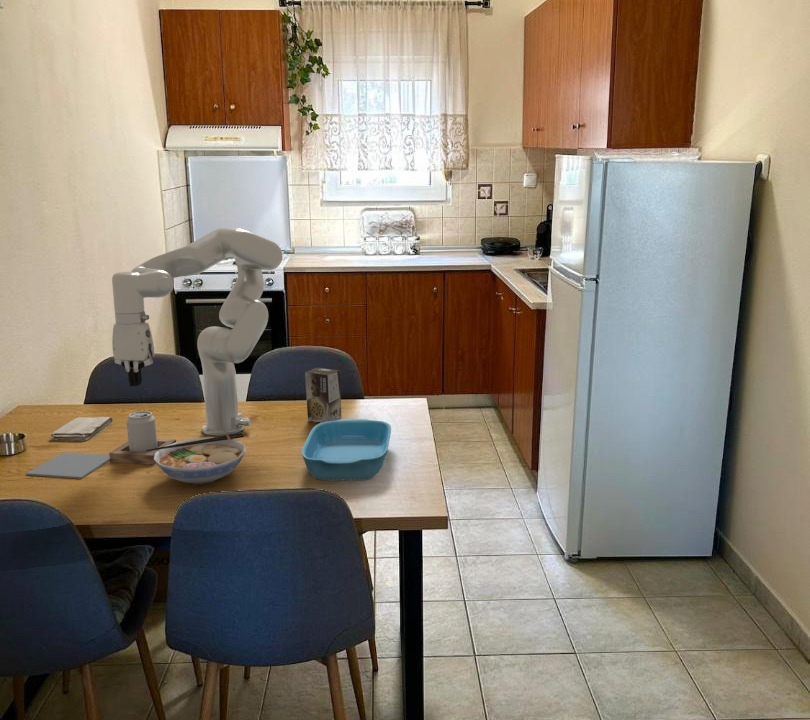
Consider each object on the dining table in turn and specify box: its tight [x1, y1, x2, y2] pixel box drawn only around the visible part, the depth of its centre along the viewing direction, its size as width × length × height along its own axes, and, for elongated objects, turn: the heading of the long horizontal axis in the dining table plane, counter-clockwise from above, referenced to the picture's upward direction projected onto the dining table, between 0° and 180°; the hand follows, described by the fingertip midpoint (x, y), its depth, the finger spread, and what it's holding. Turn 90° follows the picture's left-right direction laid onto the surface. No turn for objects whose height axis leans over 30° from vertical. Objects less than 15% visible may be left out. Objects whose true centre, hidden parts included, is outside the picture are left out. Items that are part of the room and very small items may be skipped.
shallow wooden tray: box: [108, 438, 177, 465], centre depth 222 cm, size 13×13×2 cm
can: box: [126, 410, 158, 453], centre depth 221 cm, size 8×8×12 cm
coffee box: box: [304, 367, 343, 424], centre depth 248 cm, size 9×6×16 cm
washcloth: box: [50, 416, 114, 442], centre depth 243 cm, size 12×18×3 cm, turn 177°
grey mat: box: [26, 451, 110, 480], centre depth 215 cm, size 16×16×1 cm
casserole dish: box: [301, 418, 392, 481], centre depth 214 cm, size 37×22×7 cm, turn 178°
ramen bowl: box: [146, 432, 246, 485], centre depth 203 cm, size 25×23×8 cm
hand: (135, 385), depth 217 cm, fingers closed
